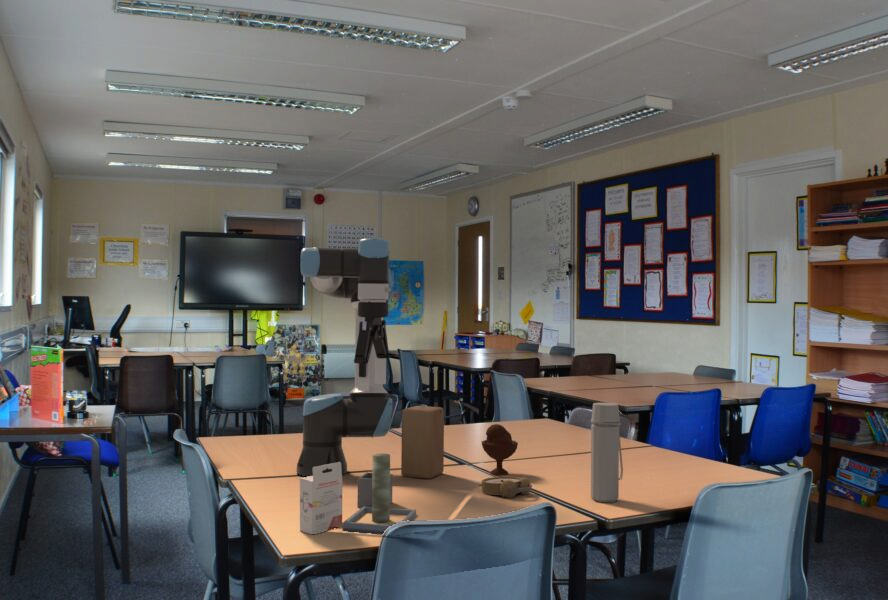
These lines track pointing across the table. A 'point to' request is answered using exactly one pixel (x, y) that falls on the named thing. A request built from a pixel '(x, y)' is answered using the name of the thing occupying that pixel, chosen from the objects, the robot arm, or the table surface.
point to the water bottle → (605, 452)
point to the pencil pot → (368, 490)
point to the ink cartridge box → (321, 499)
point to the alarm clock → (505, 486)
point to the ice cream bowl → (499, 446)
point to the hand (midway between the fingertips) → (372, 387)
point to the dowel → (381, 488)
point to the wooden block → (422, 442)
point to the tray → (373, 528)
